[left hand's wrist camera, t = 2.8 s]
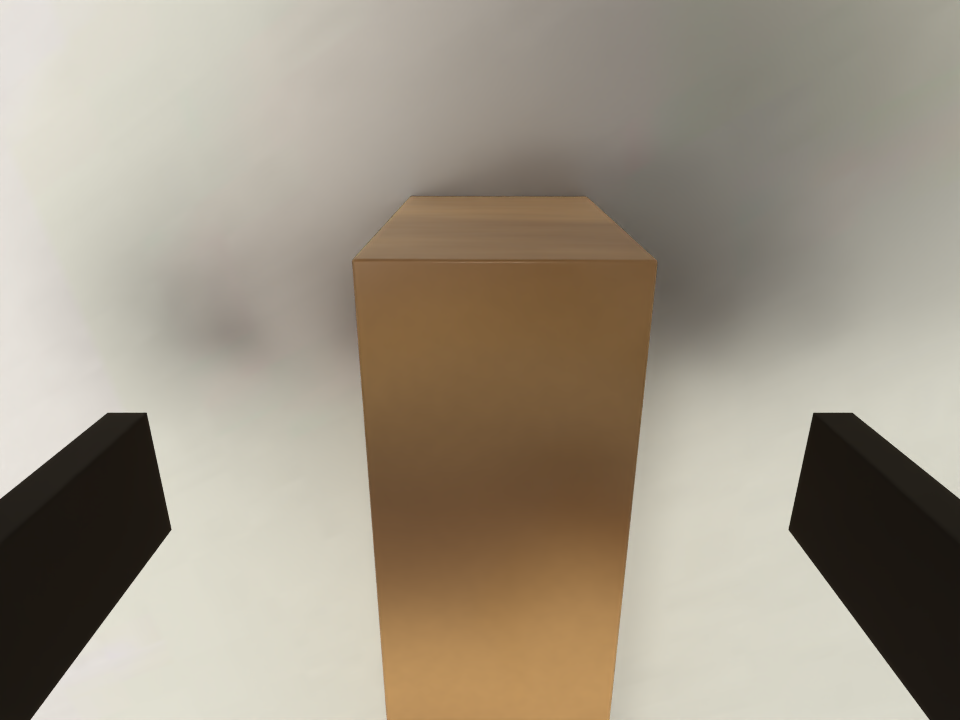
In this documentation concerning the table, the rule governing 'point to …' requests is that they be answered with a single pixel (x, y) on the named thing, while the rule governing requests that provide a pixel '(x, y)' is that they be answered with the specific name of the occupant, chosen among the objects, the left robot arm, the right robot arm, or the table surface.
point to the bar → (501, 450)
